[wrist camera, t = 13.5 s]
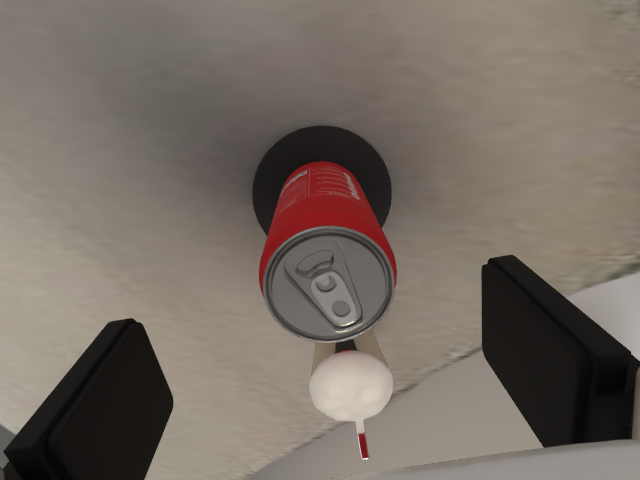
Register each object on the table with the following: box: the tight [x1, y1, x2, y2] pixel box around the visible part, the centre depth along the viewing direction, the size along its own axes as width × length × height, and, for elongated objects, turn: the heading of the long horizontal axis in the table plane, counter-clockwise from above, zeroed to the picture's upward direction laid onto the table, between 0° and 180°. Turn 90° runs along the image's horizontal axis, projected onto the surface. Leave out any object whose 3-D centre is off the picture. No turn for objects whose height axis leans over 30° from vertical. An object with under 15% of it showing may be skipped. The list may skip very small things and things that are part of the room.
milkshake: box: [309, 328, 393, 460], centre depth 24 cm, size 4×5×10 cm
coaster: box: [253, 126, 391, 236], centre depth 25 cm, size 9×9×1 cm
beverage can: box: [259, 161, 397, 343], centre depth 19 cm, size 5×5×12 cm
